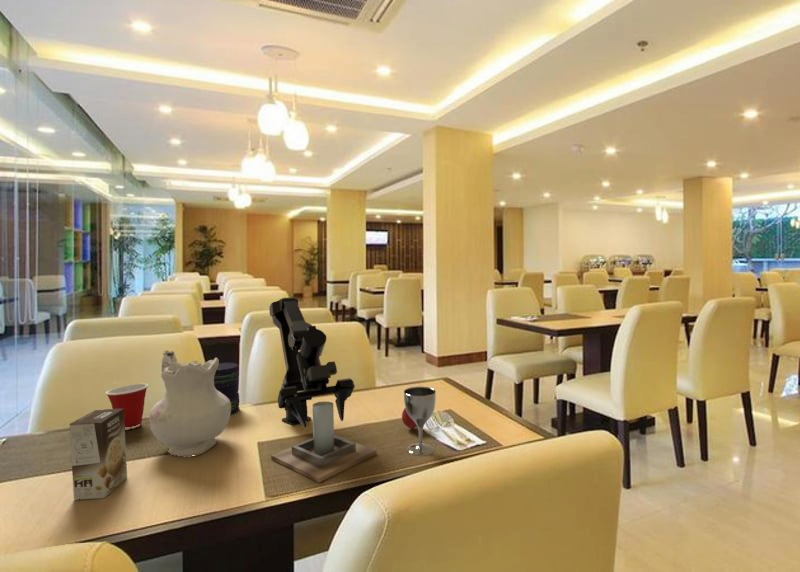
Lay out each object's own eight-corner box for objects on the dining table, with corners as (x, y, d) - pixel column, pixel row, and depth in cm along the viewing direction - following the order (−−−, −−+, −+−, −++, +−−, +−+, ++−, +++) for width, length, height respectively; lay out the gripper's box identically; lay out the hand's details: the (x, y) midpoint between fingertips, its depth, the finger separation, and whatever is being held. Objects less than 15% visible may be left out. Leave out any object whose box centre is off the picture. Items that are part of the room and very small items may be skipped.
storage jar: (245, 407, 148) (244, 362, 147) (228, 418, 139) (226, 370, 138) (218, 406, 150) (216, 362, 149) (200, 416, 141) (197, 369, 140)
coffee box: (105, 498, 93) (100, 422, 92) (72, 500, 92) (67, 424, 91) (128, 477, 102) (124, 407, 101) (98, 478, 102) (94, 409, 101)
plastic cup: (135, 418, 140) (133, 380, 139) (158, 423, 135) (156, 384, 135) (99, 430, 130) (96, 390, 130) (122, 436, 126) (120, 394, 125)
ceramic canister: (310, 456, 109) (309, 407, 108) (318, 447, 114) (317, 400, 113) (329, 458, 108) (328, 408, 107) (337, 449, 112) (336, 402, 112)
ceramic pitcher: (128, 459, 114) (115, 364, 110) (188, 425, 132) (179, 343, 128) (195, 472, 106) (184, 370, 103) (249, 434, 125) (241, 347, 121)
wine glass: (439, 444, 116) (439, 387, 115) (431, 458, 109) (430, 397, 108) (410, 441, 119) (409, 385, 118) (400, 454, 111) (399, 394, 110)
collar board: (271, 459, 110) (271, 447, 109) (328, 436, 123) (328, 425, 123) (318, 482, 98) (318, 469, 98) (376, 454, 112) (375, 442, 111)
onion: (420, 433, 124) (420, 405, 123) (400, 432, 125) (399, 404, 124) (424, 426, 129) (423, 398, 129) (404, 424, 131) (403, 397, 130)
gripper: (278, 355, 109) (290, 414, 99) (351, 347, 117) (368, 401, 108) (273, 380, 116) (283, 436, 107) (342, 370, 124) (357, 422, 115)
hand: (324, 423), depth 109 cm, fingers open, 9 cm apart
